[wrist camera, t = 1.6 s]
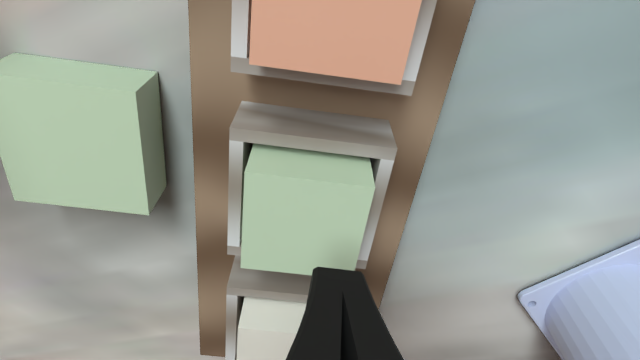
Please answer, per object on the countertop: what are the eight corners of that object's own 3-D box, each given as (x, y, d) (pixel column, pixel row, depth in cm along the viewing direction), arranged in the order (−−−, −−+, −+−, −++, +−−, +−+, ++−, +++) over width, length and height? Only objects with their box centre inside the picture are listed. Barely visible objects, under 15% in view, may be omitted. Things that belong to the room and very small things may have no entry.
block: (166, 185, 21) (149, 215, 19) (46, 171, 21) (14, 200, 19) (157, 71, 18) (135, 92, 16) (15, 52, 18) (-28, 71, 15)
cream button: (324, 341, 23) (324, 393, 20) (245, 333, 23) (235, 385, 20) (336, 286, 21) (338, 337, 18) (248, 276, 20) (237, 327, 18)
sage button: (348, 230, 19) (352, 279, 16) (252, 220, 18) (240, 268, 16) (367, 145, 16) (375, 187, 14) (257, 132, 16) (244, 172, 14)
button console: (357, 341, 28) (362, 408, 24) (208, 327, 27) (189, 394, 23) (521, -221, 13) (603, -280, 9) (197, -282, 12) (140, -372, 8)
